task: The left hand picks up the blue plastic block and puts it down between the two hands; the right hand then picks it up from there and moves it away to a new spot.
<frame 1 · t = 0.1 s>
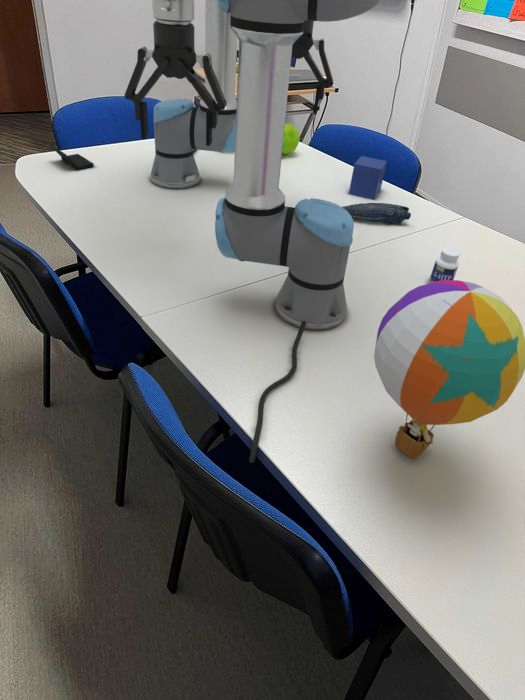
left hand: (177, 140, 109), 28 cm above the table, tool pointing down, fingers open, 13 cm apart
right hand: (289, 109, 135), 28 cm above the table, tool pointing down, fingers open, 13 cm apart
block: (364, 192, 169), on the table
pill bottle: (439, 285, 126), on the table
toy: (409, 450, 84), on the table
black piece: (73, 164, 169), on the table
fish model: (371, 219, 152), on the table
decorative tree: (258, 154, 190), on the table
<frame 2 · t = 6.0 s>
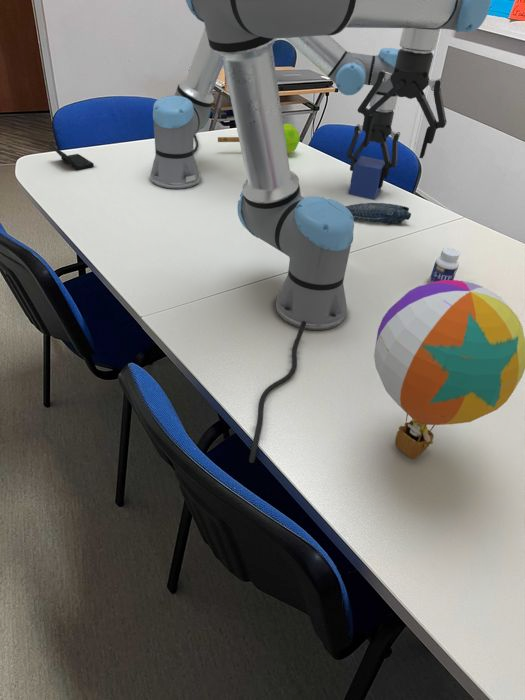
left hand: (366, 184, 167), 3 cm above the table, tool pointing down, fingers closed on block, 8 cm apart
right hand: (393, 151, 124), 25 cm above the table, tool pointing down, fingers open, 13 cm apart
block: (364, 192, 169), on the table, touching left hand
everything else where it was.
when the left hand's fingers open (4 cm above the table, at t = 17.2 s): block drops 1 cm, on the table.
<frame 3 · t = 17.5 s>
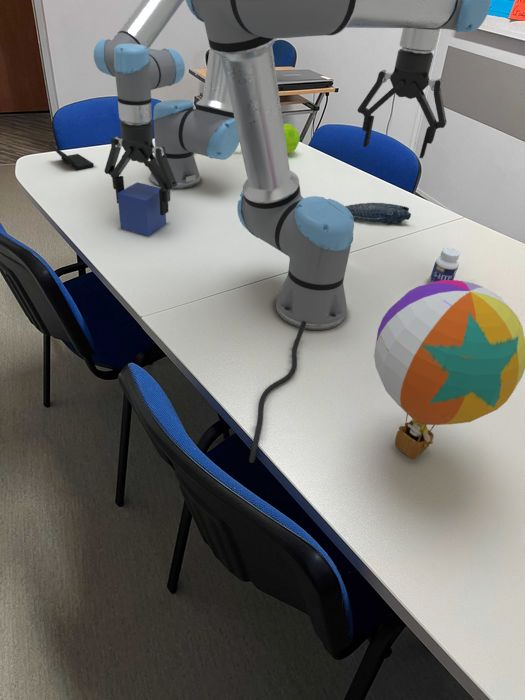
left hand: (142, 207, 135), 5 cm above the table, tool pointing down, fingers open, 12 cm apart
right hand: (393, 151, 124), 25 cm above the table, tool pointing down, fingers open, 13 cm apart
block: (144, 226, 138), on the table
everything else where it was.
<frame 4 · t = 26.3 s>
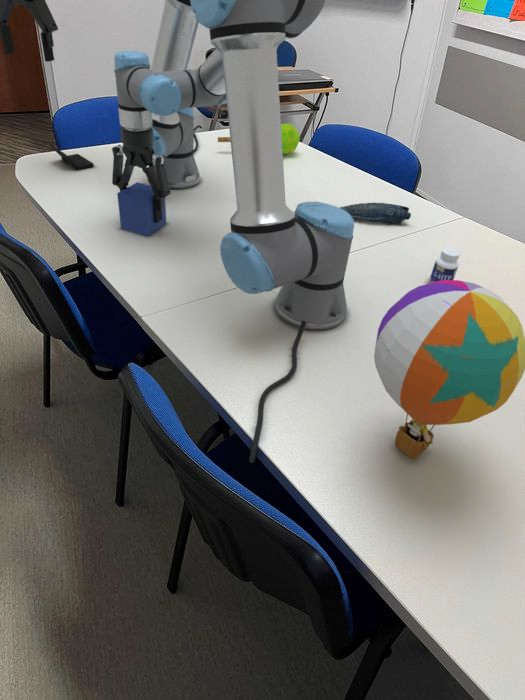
left hand: (29, 57, 142), 32 cm above the table, tool pointing down, fingers open, 13 cm apart
right hand: (143, 216, 137), 3 cm above the table, tool pointing down, fingers closed on block, 8 cm apart
block: (144, 226, 138), on the table, touching right hand
everything else where it was.
when the right hand's fingers open (4 cm above the table, at t = 38.6 s): block drops 1 cm, on the table.
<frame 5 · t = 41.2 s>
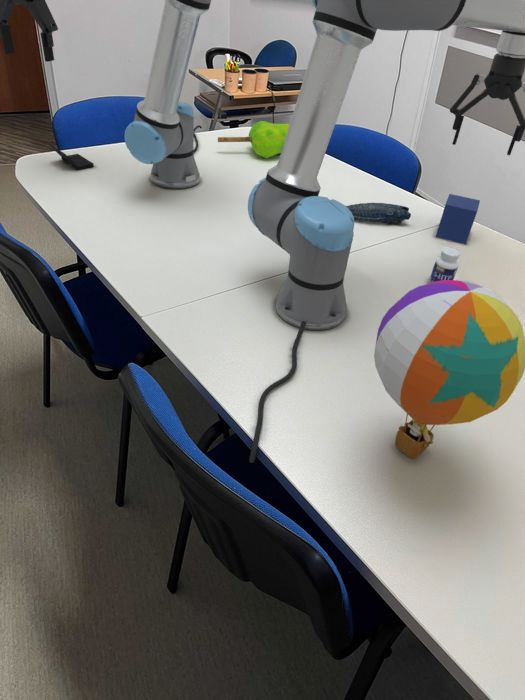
left hand: (29, 57, 142), 32 cm above the table, tool pointing down, fingers open, 13 cm apart
right hand: (481, 148, 133), 24 cm above the table, tool pointing down, fingers open, 13 cm apart
block: (452, 234, 148), on the table
everything else where it was.
at the end: block inside the target area (0.1 cm from its centre), on the table; block tilted 0°; the two hands never held the block at the same time; the left hand is holding nothing; the right hand is holding nothing; block at rest at the end (0.0 cm/s) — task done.
